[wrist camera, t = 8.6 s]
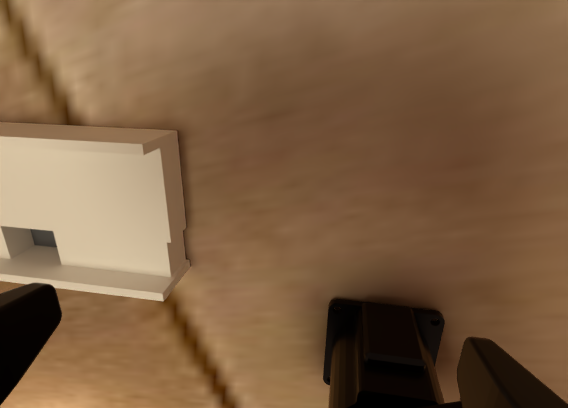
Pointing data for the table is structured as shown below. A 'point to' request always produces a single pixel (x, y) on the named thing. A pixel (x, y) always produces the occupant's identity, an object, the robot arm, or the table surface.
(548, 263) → the table surface
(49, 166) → the tray
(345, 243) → the table surface
